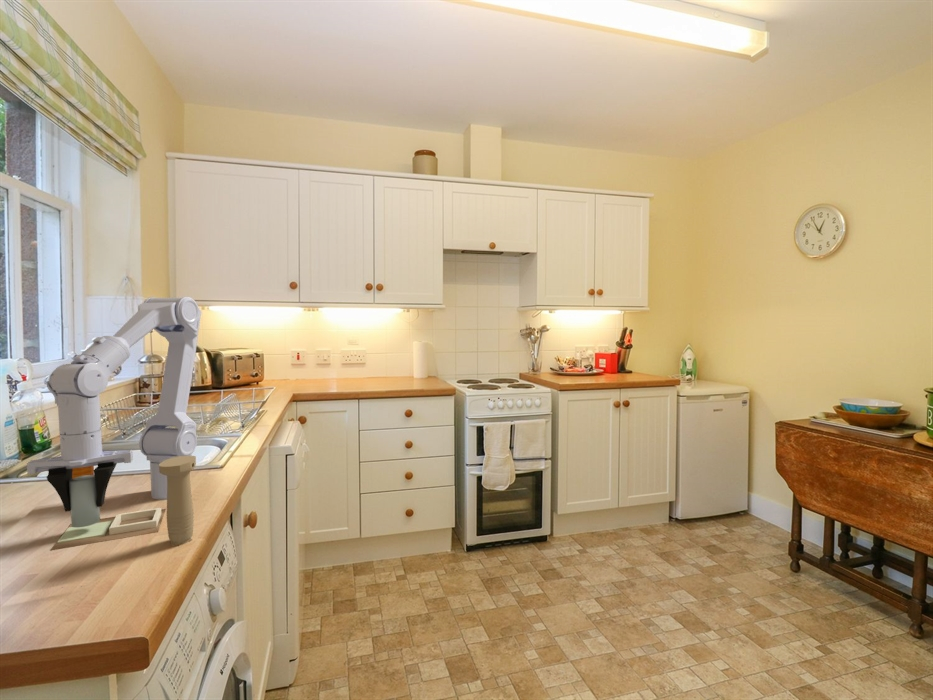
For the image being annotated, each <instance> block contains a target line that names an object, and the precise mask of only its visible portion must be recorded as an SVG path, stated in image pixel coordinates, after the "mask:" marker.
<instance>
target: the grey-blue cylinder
mask: <svg viewBox="0 0 933 700" xmlns="http://www.w3.org/2000/svg"><path fill="white" fill-rule="evenodd" d="M69 492H70V508H71V510H70V522H71V523H70V524H71V526H72V527H85V526H89V525H93V524H95V523H97V522H99V521H100V519H101V513H100V507H97V504H96V493H97V490H96V481H95V475H85V476H80V477H76V478H73V479H70V480H69Z"/></svg>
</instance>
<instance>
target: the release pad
mask: <svg viewBox="0 0 933 700" xmlns="http://www.w3.org/2000/svg"><path fill="white" fill-rule="evenodd" d="M111 523H112V521H107V522H101V523H95V524H93V525H89V526H85V527H69V526H68V527H69V528H68V527H67V528H68V529H67V528H66V529H67V530H66V529H65V530H64V532H65V533H64V532H63V533H64V534H63V533H62V534H63V535H61V536H62V537H61V536H60V537H61V538H60V537H59V538H60V539H59V538H58V540H57V541H58V542H57V541H56V542H57V543H62V542H68V541H74V540H80V539H86V538H91V537H97V536H103V535H105V534H106V532H107V530H108V529H109V527H110V525H111Z"/></svg>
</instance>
